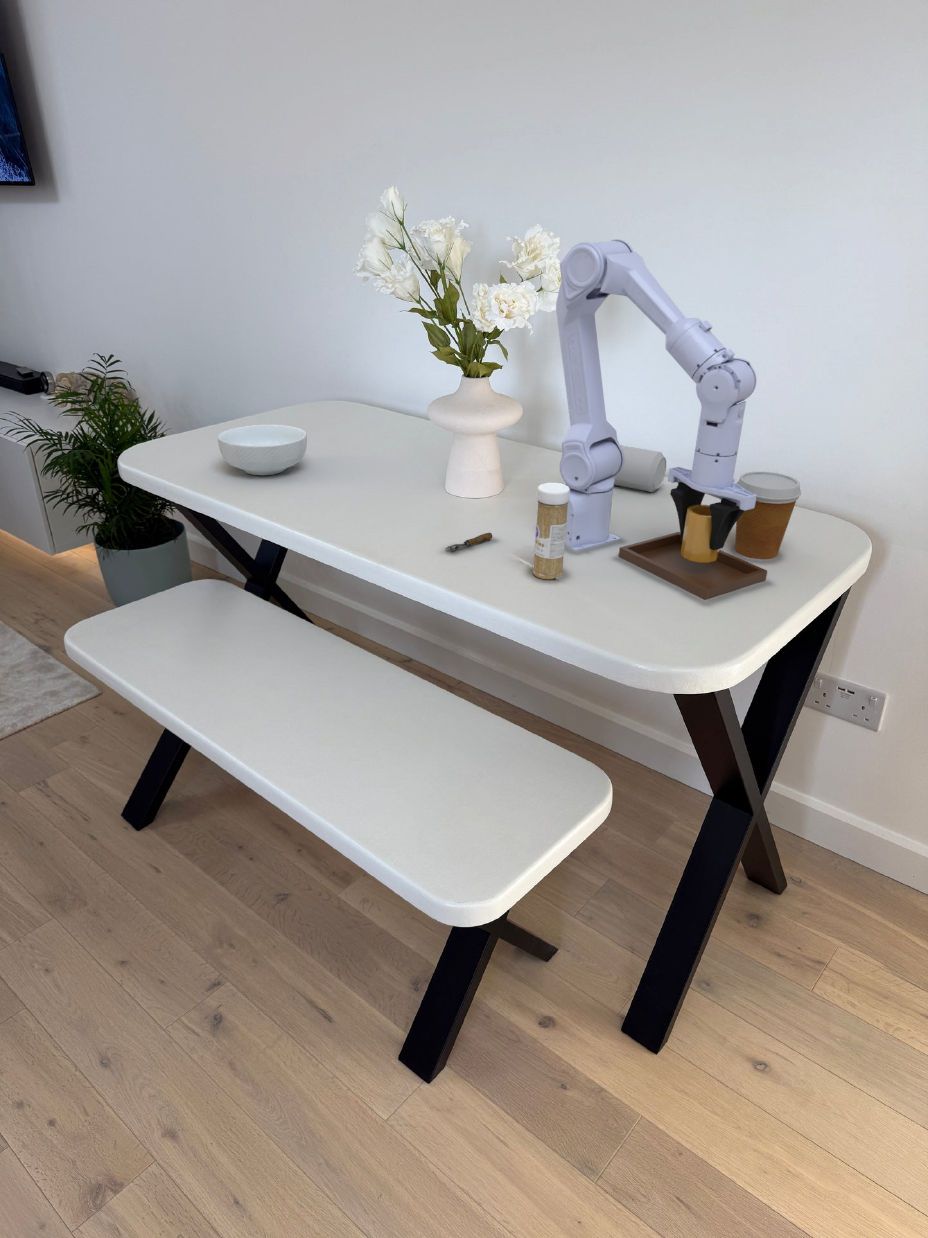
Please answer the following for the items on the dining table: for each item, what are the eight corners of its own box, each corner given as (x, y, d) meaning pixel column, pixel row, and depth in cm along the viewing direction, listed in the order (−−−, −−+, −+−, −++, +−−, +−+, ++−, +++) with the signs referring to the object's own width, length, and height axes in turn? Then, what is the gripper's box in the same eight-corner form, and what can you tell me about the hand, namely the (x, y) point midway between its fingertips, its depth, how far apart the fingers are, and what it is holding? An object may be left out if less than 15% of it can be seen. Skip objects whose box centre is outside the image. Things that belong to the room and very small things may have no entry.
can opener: (488, 537, 137) (488, 531, 136) (497, 542, 135) (497, 535, 135) (441, 549, 132) (441, 542, 132) (450, 554, 131) (450, 547, 130)
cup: (700, 565, 122) (707, 519, 119) (673, 553, 126) (680, 508, 123) (724, 558, 125) (732, 512, 121) (698, 546, 129) (705, 502, 125)
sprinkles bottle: (527, 570, 126) (532, 483, 120) (554, 566, 128) (560, 479, 122) (541, 582, 122) (547, 493, 116) (569, 578, 124) (576, 489, 118)
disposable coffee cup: (755, 570, 127) (770, 494, 122) (711, 548, 135) (723, 475, 129) (801, 559, 131) (817, 485, 126) (756, 538, 139) (769, 467, 133)
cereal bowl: (326, 470, 167) (324, 434, 164) (254, 489, 156) (250, 451, 153) (275, 451, 178) (272, 418, 174) (204, 468, 167) (200, 433, 163)
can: (667, 444, 156) (606, 433, 161) (651, 471, 153) (590, 460, 158) (668, 474, 162) (610, 463, 167) (654, 501, 158) (594, 489, 164)
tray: (704, 603, 117) (706, 590, 116) (618, 559, 130) (619, 547, 129) (765, 583, 124) (767, 570, 123) (676, 543, 137) (678, 531, 136)
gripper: (777, 460, 115) (759, 553, 121) (697, 434, 125) (684, 521, 132) (742, 468, 111) (725, 563, 117) (662, 440, 122) (651, 529, 128)
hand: (701, 541), depth 124 cm, fingers closed on cup, 5 cm apart
